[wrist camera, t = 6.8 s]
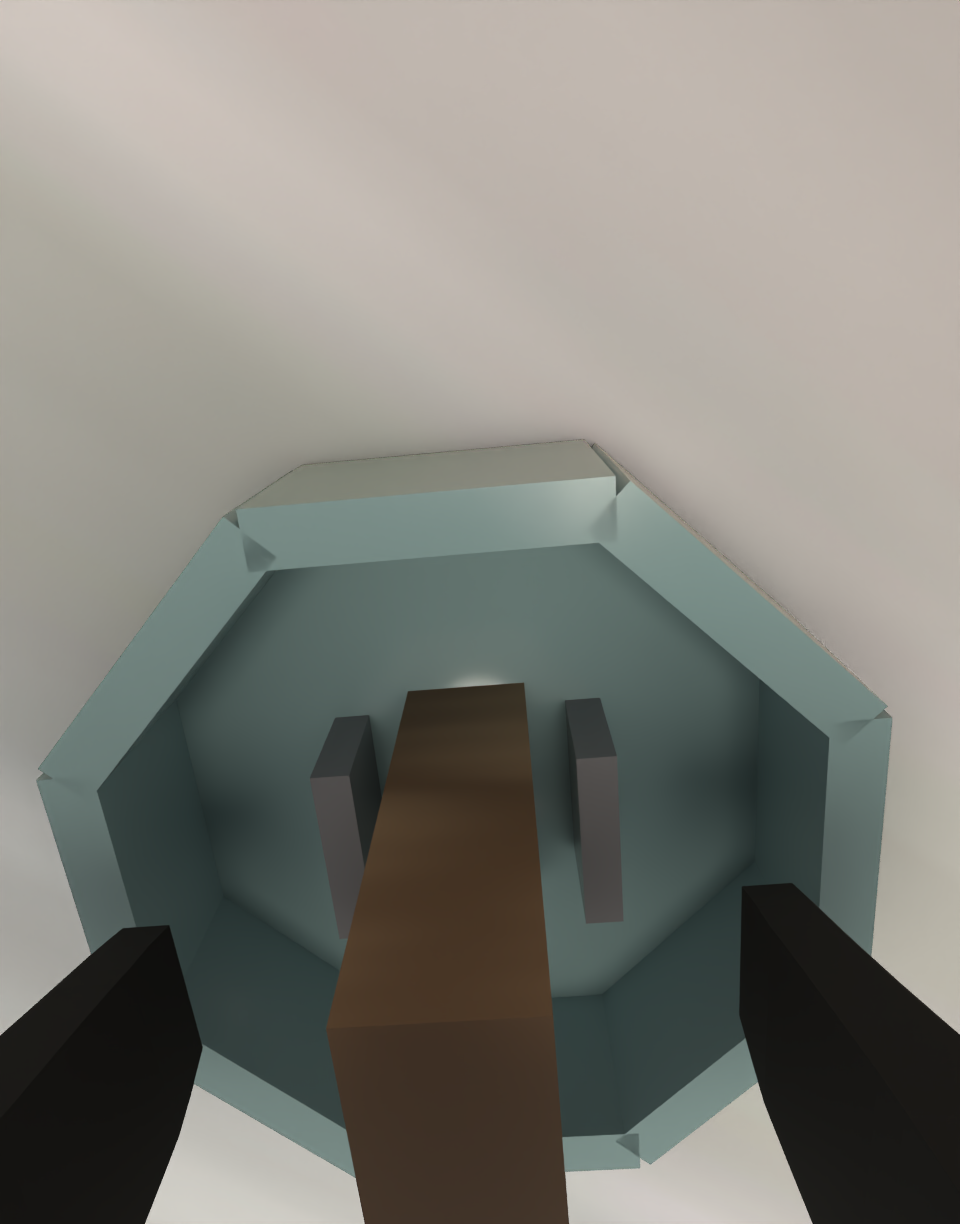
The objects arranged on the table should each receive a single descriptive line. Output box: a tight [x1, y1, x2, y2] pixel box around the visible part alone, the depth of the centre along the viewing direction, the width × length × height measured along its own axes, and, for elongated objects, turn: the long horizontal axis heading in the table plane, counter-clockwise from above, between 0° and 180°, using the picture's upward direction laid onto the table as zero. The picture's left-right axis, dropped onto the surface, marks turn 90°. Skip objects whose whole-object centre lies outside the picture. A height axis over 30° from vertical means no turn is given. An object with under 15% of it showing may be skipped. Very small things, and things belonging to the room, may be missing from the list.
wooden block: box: [326, 683, 569, 1224], centre depth 11 cm, size 2×4×7 cm, turn 5°
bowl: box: [36, 439, 892, 1178], centre depth 13 cm, size 12×12×4 cm
